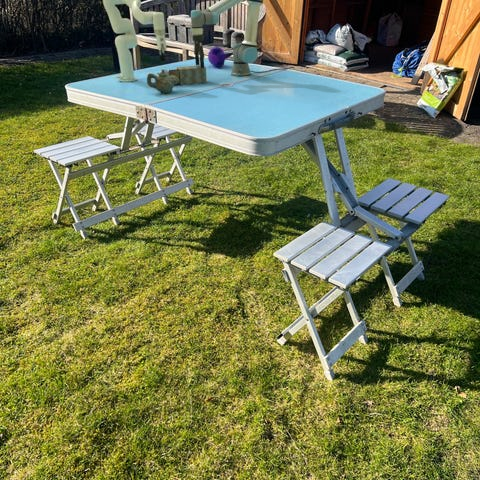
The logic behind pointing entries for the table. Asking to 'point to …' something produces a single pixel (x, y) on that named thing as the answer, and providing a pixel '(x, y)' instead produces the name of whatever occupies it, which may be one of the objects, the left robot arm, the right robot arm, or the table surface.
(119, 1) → the left robot arm
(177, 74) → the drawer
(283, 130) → the table surface
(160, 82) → the teapot
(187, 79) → the cabinet
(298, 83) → the table surface
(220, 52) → the toy
